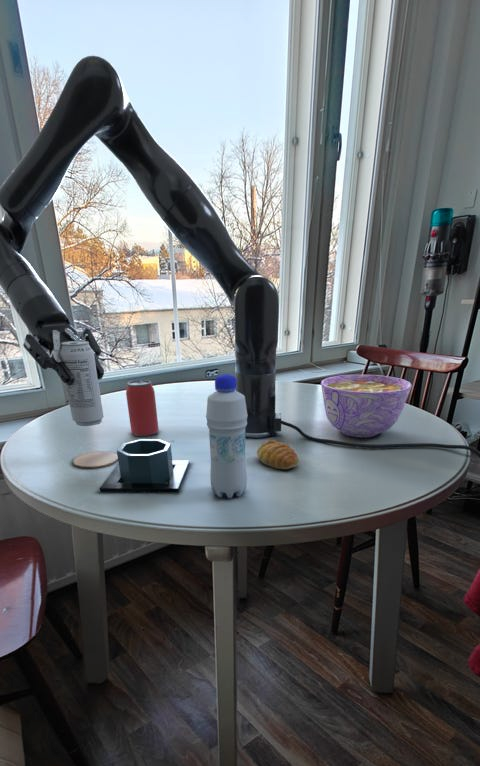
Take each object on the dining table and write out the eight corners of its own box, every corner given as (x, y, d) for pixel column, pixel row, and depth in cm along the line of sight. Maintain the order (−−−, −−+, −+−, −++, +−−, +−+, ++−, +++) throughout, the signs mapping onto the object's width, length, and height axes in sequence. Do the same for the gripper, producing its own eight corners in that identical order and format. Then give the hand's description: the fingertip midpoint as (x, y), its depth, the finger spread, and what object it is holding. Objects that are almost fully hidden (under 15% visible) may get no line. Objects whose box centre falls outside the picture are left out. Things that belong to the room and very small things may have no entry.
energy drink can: (109, 419, 93) (97, 340, 86) (95, 427, 88) (81, 345, 81) (83, 417, 95) (69, 340, 87) (67, 426, 89) (51, 344, 82)
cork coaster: (123, 453, 99) (122, 451, 99) (111, 468, 91) (110, 466, 91) (82, 453, 99) (82, 451, 99) (66, 468, 92) (66, 466, 91)
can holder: (189, 464, 93) (187, 435, 90) (178, 492, 80) (175, 460, 77) (121, 463, 93) (117, 435, 90) (100, 492, 81) (94, 460, 78)
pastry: (307, 467, 90) (308, 448, 88) (279, 474, 87) (279, 455, 85) (279, 453, 97) (279, 436, 95) (252, 460, 94) (252, 442, 92)
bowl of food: (308, 440, 104) (311, 388, 99) (327, 418, 120) (331, 372, 115) (399, 450, 98) (408, 395, 92) (407, 424, 114) (414, 376, 108)
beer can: (161, 429, 114) (156, 379, 108) (154, 437, 108) (149, 385, 103) (136, 428, 115) (129, 379, 109) (128, 436, 109) (120, 385, 103)
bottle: (209, 486, 83) (203, 371, 73) (246, 484, 83) (245, 369, 73) (210, 502, 77) (204, 379, 67) (250, 500, 77) (249, 378, 68)
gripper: (5, 294, 79) (58, 372, 79) (76, 291, 89) (124, 361, 89) (-2, 326, 85) (48, 399, 84) (65, 320, 95) (110, 385, 94)
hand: (86, 379), depth 86 cm, fingers closed on energy drink can, 6 cm apart
